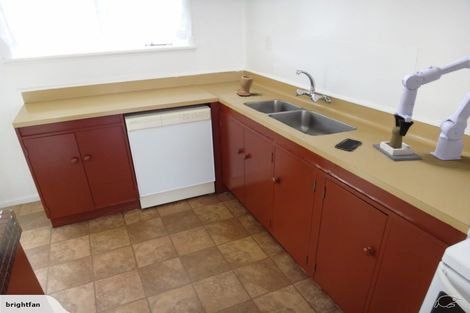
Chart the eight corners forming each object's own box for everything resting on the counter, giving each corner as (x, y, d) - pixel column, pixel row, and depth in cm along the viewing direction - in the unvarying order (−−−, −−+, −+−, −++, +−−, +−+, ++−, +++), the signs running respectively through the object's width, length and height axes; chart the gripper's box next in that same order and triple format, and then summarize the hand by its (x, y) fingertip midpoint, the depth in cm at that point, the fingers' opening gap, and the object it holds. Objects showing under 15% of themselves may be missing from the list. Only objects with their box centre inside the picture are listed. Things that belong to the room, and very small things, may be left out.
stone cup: (254, 96, 246) (254, 77, 240) (239, 97, 244) (239, 77, 238) (249, 92, 260) (249, 74, 254) (235, 93, 257) (235, 74, 251)
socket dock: (397, 145, 151) (399, 138, 150) (421, 159, 136) (423, 151, 134) (372, 146, 150) (373, 139, 148) (393, 160, 134) (395, 153, 133)
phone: (334, 146, 147) (347, 138, 158) (333, 148, 148) (346, 140, 158) (350, 150, 143) (362, 141, 153) (349, 152, 143) (362, 143, 153)
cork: (385, 147, 146) (390, 124, 141) (399, 148, 144) (405, 126, 140) (388, 152, 140) (393, 129, 136) (402, 153, 139) (408, 130, 134)
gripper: (393, 98, 141) (387, 127, 146) (401, 106, 128) (394, 137, 133) (410, 99, 139) (403, 128, 145) (419, 107, 126) (412, 139, 132)
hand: (400, 132), depth 139 cm, fingers open, 7 cm apart
